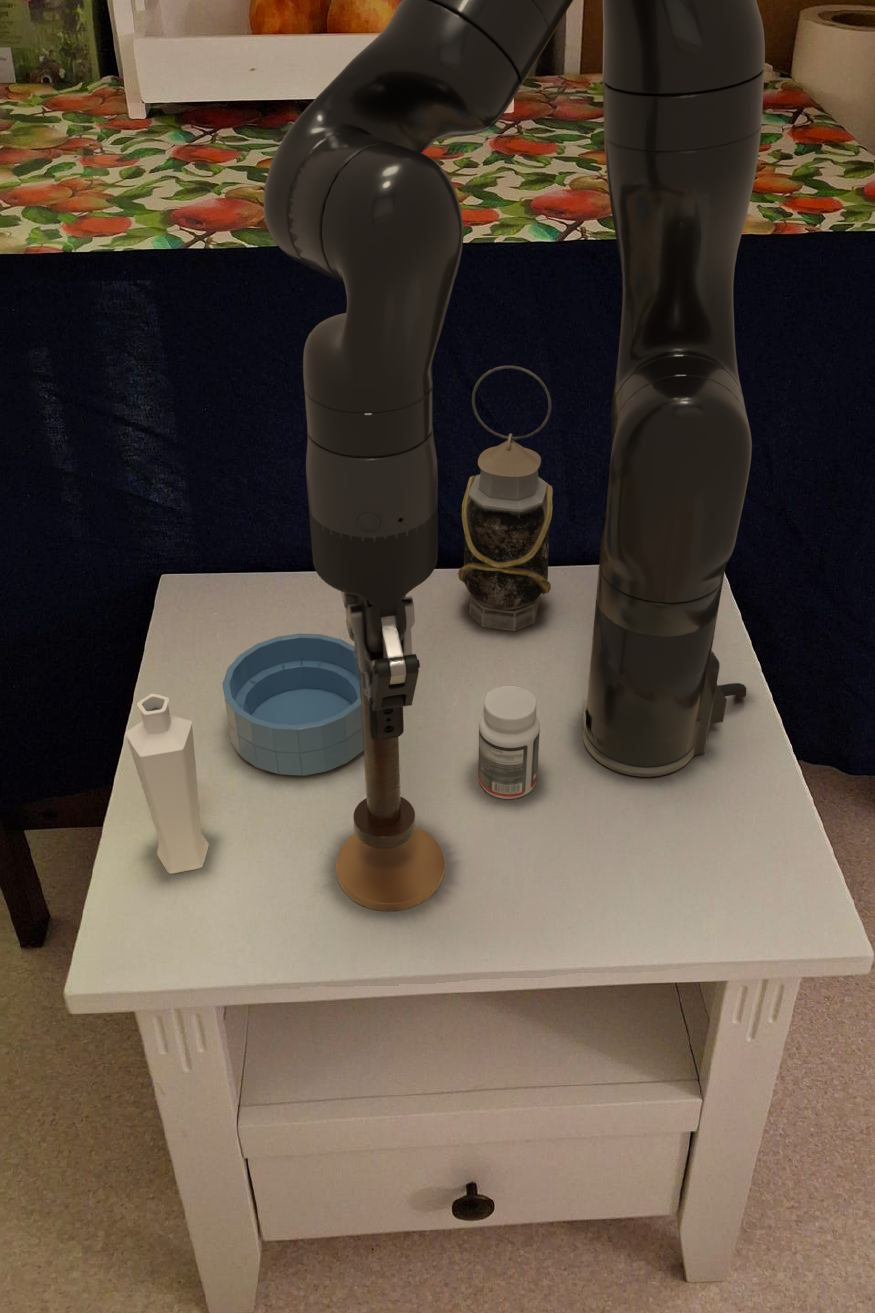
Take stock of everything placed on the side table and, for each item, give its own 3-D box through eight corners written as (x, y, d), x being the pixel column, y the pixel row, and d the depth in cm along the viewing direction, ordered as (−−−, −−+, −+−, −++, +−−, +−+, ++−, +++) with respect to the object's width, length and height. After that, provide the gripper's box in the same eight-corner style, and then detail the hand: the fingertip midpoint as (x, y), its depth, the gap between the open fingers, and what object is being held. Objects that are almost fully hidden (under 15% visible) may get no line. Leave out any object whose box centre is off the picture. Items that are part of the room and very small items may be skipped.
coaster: (430, 821, 94) (430, 814, 94) (456, 900, 88) (456, 892, 88) (328, 840, 93) (328, 832, 93) (347, 920, 87) (346, 913, 86)
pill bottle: (507, 751, 101) (510, 673, 95) (549, 781, 98) (554, 701, 93) (465, 779, 98) (466, 700, 93) (507, 810, 95) (510, 730, 90)
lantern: (556, 592, 118) (572, 350, 102) (542, 642, 112) (557, 393, 96) (468, 581, 120) (470, 341, 104) (450, 630, 113) (449, 382, 98)
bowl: (361, 673, 109) (358, 624, 105) (388, 765, 99) (386, 715, 96) (223, 694, 106) (216, 645, 103) (238, 791, 97) (231, 740, 94)
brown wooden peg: (408, 800, 90) (404, 637, 81) (421, 843, 87) (418, 678, 77) (349, 809, 89) (338, 646, 80) (360, 853, 86) (349, 689, 76)
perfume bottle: (140, 868, 91) (104, 717, 82) (171, 828, 94) (140, 678, 85) (193, 885, 90) (164, 734, 80) (223, 844, 93) (198, 694, 83)
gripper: (464, 554, 66) (461, 782, 77) (411, 433, 77) (414, 649, 88) (328, 572, 65) (344, 802, 76) (292, 447, 75) (311, 664, 86)
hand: (381, 719), depth 82 cm, fingers closed on brown wooden peg, 2 cm apart
